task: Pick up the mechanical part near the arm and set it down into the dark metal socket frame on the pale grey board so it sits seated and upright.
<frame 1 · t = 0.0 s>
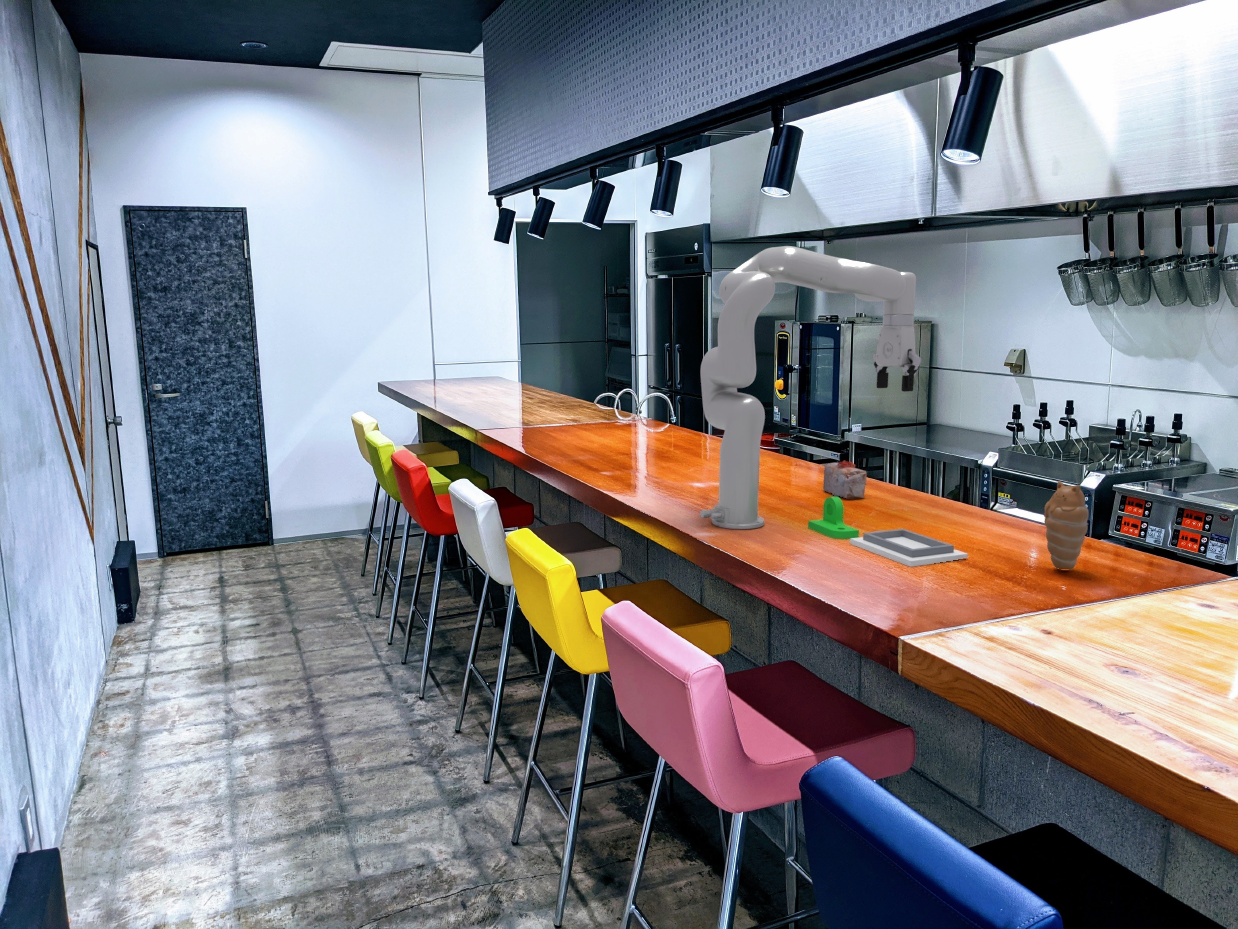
hand: (894, 389, 238), 31 cm above the table, tool pointing down, fingers open, 9 cm apart
food item: (843, 496, 261), on the table
cat ice cream: (1062, 572, 187), on the table
socket board: (906, 551, 201), on the table
mechanical part: (832, 534, 218), on the table
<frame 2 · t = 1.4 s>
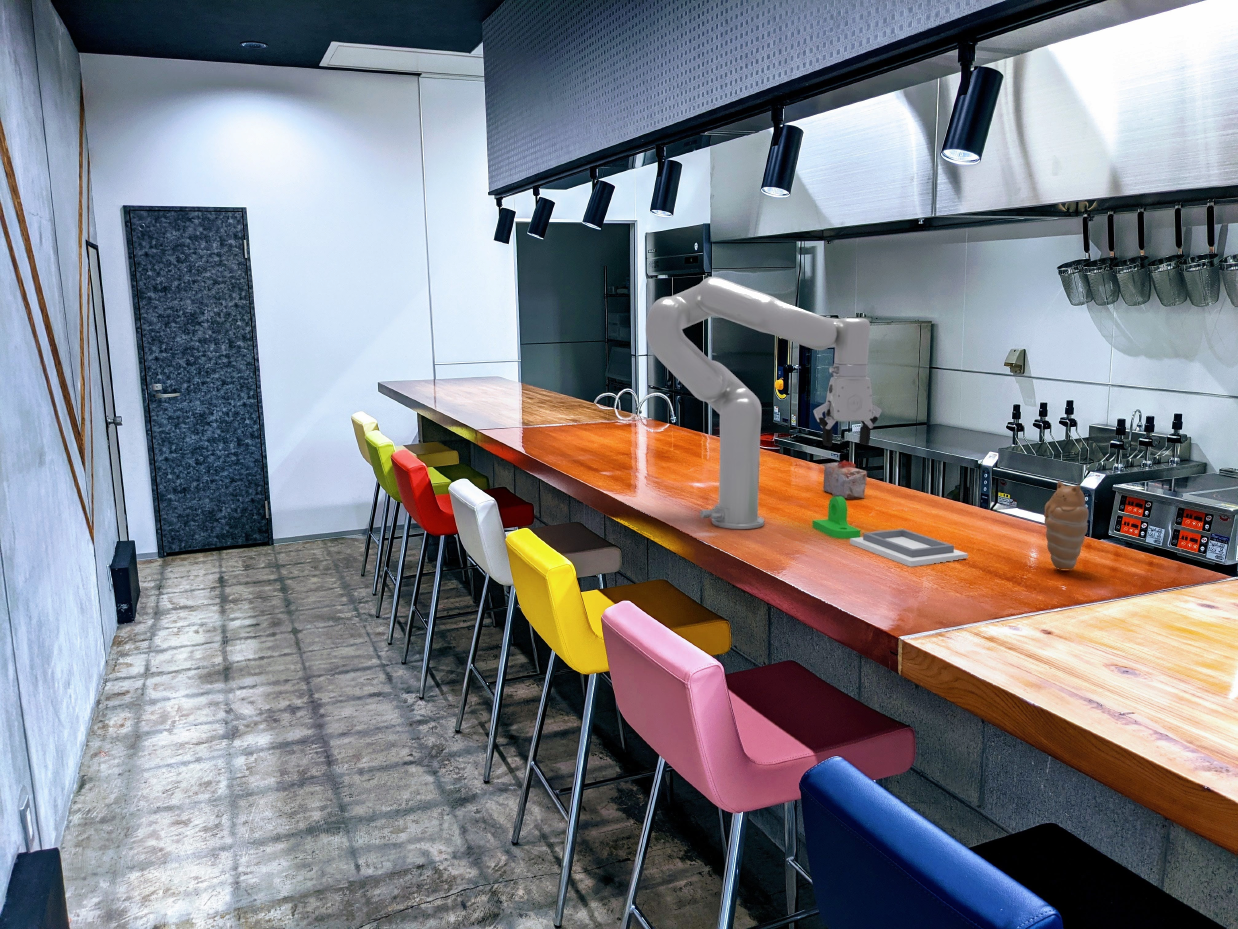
hand: (845, 444, 219), 20 cm above the table, tool pointing down, fingers open, 9 cm apart
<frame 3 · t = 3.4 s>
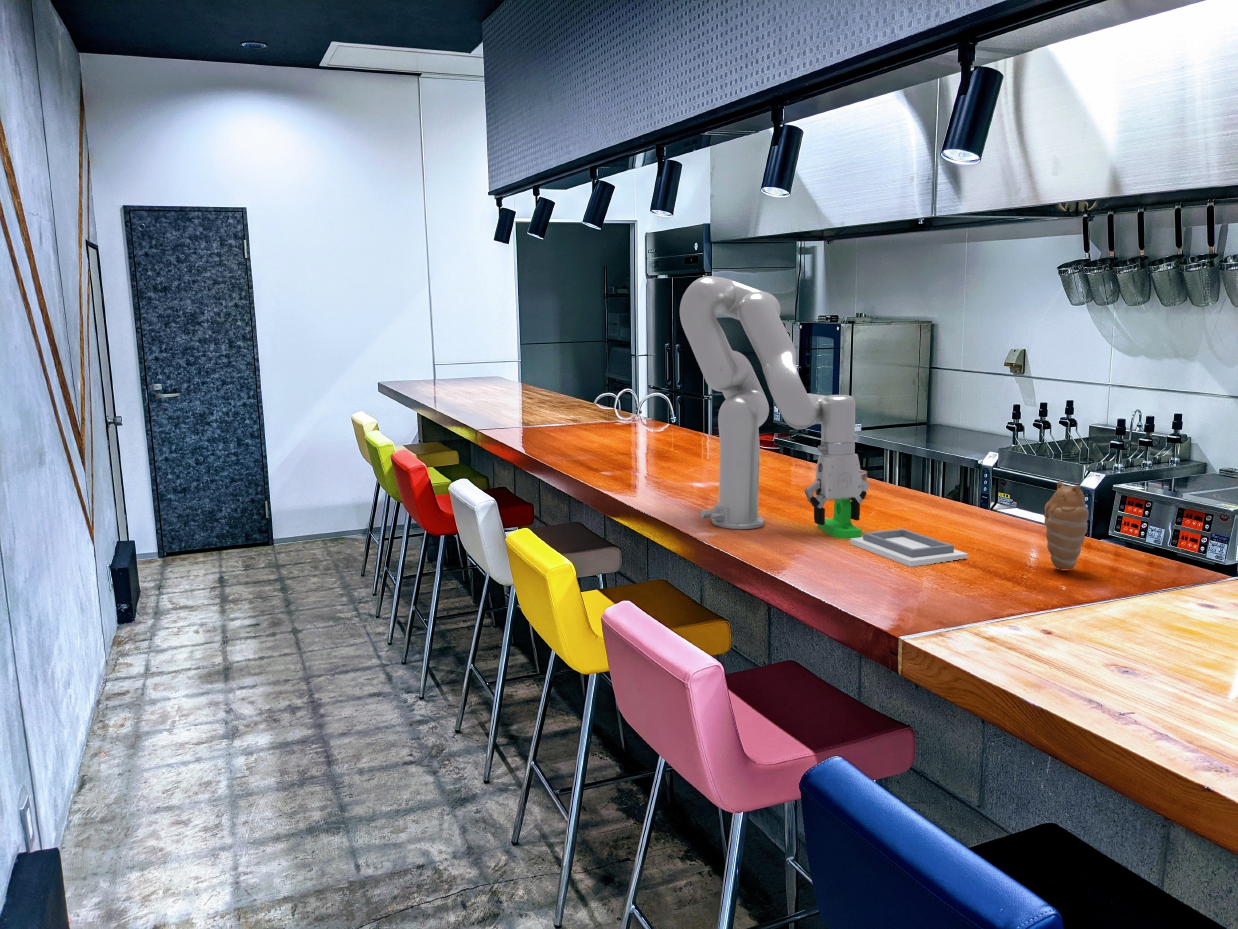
hand: (836, 521, 217), 3 cm above the table, tool pointing down, fingers open, 9 cm apart
mechanical part: (838, 533, 218), on the table, touching gripper
everything else where it was.
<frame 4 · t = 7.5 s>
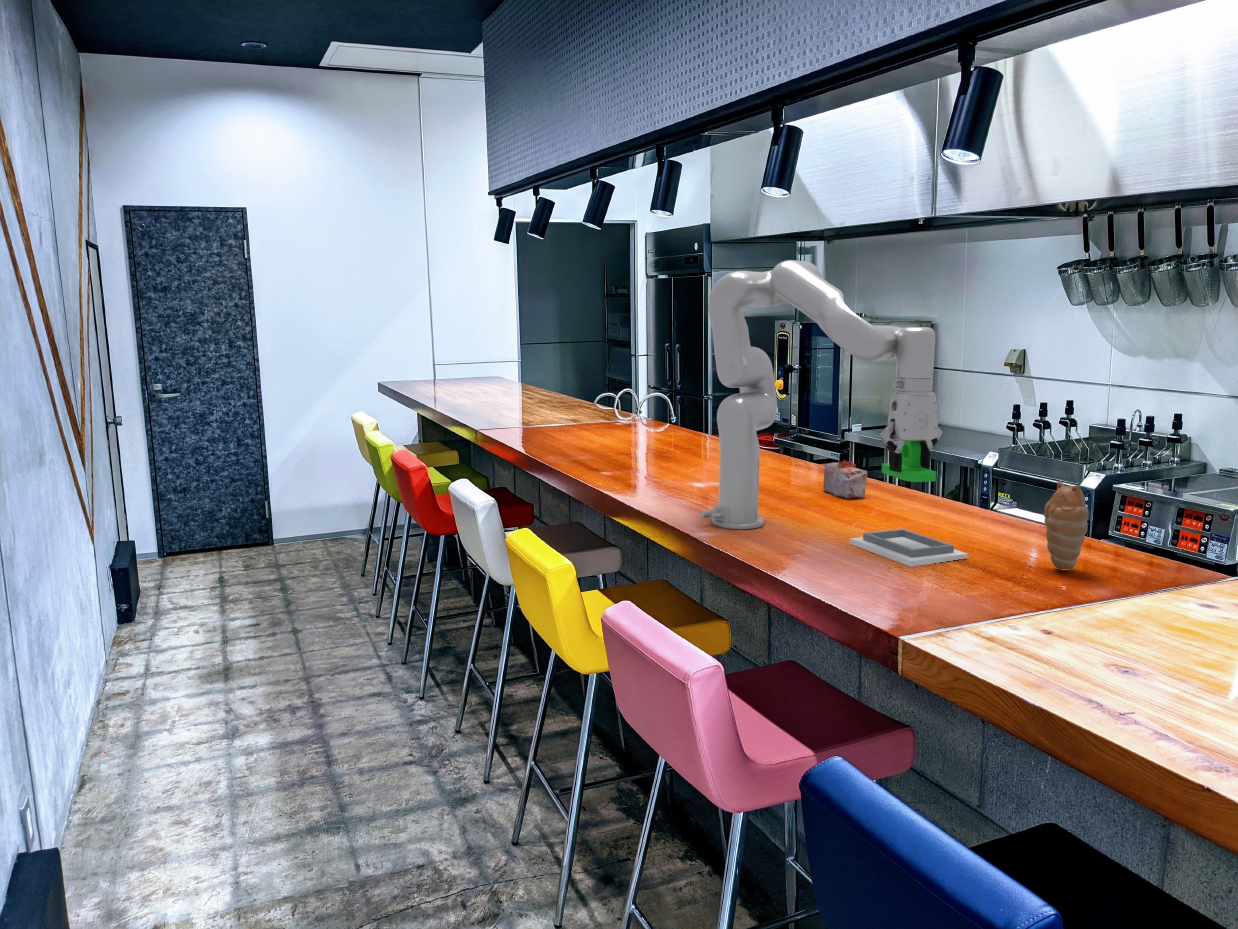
hand: (909, 469, 199), 18 cm above the table, tool pointing down, fingers closed on mechanical part, 6 cm apart
mechanical part: (907, 477, 200), point 16 cm above the table, touching gripper
everything else where it was.
when the fingers open (4 cm above the table, at t = 11.0 s): mechanical part drops 2 cm, resting on socket board.
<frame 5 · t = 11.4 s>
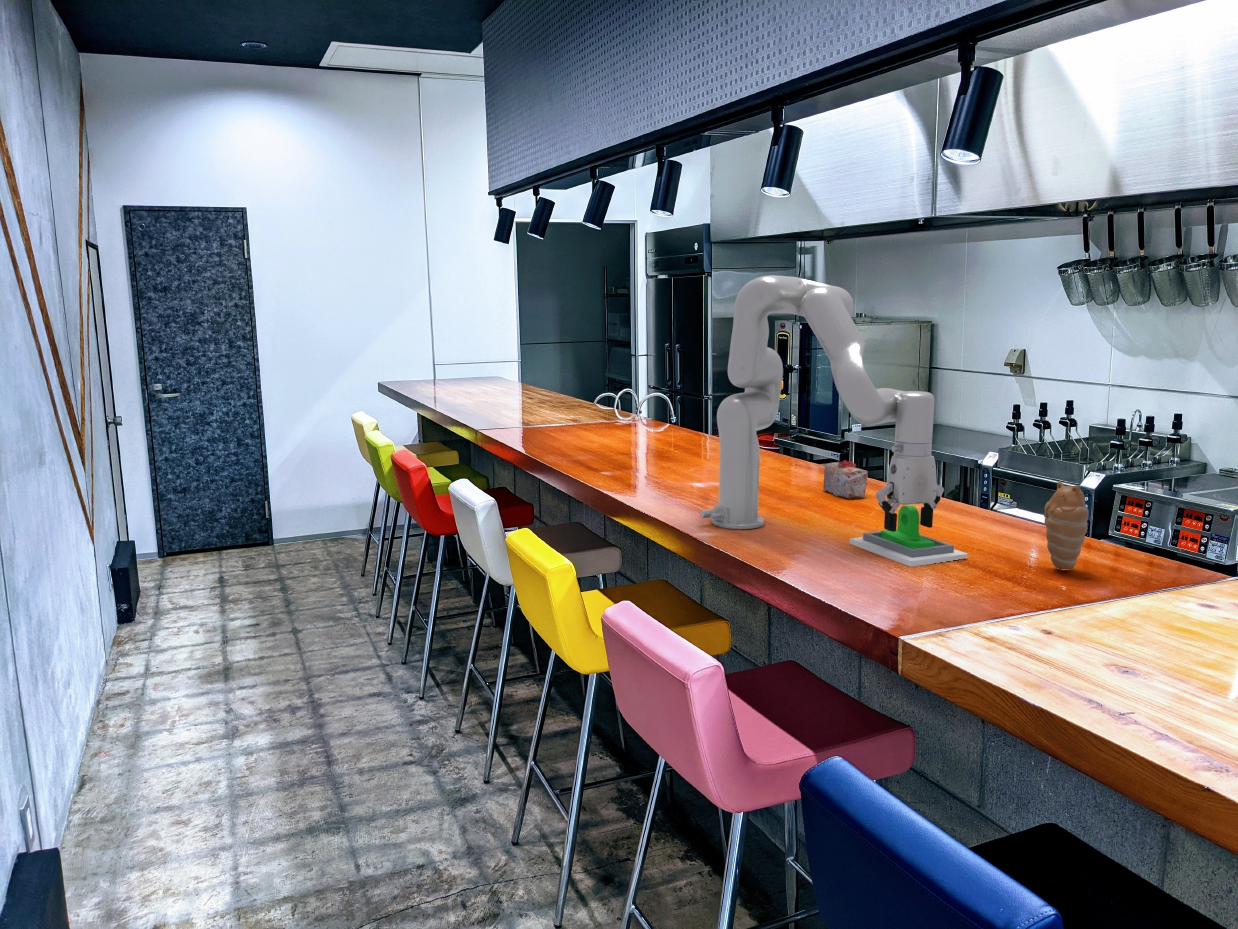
hand: (908, 528, 200), 5 cm above the table, tool pointing down, fingers open, 9 cm apart
mechanical part: (906, 546, 202), point 1 cm above the table, touching socket board
everything else where it was.
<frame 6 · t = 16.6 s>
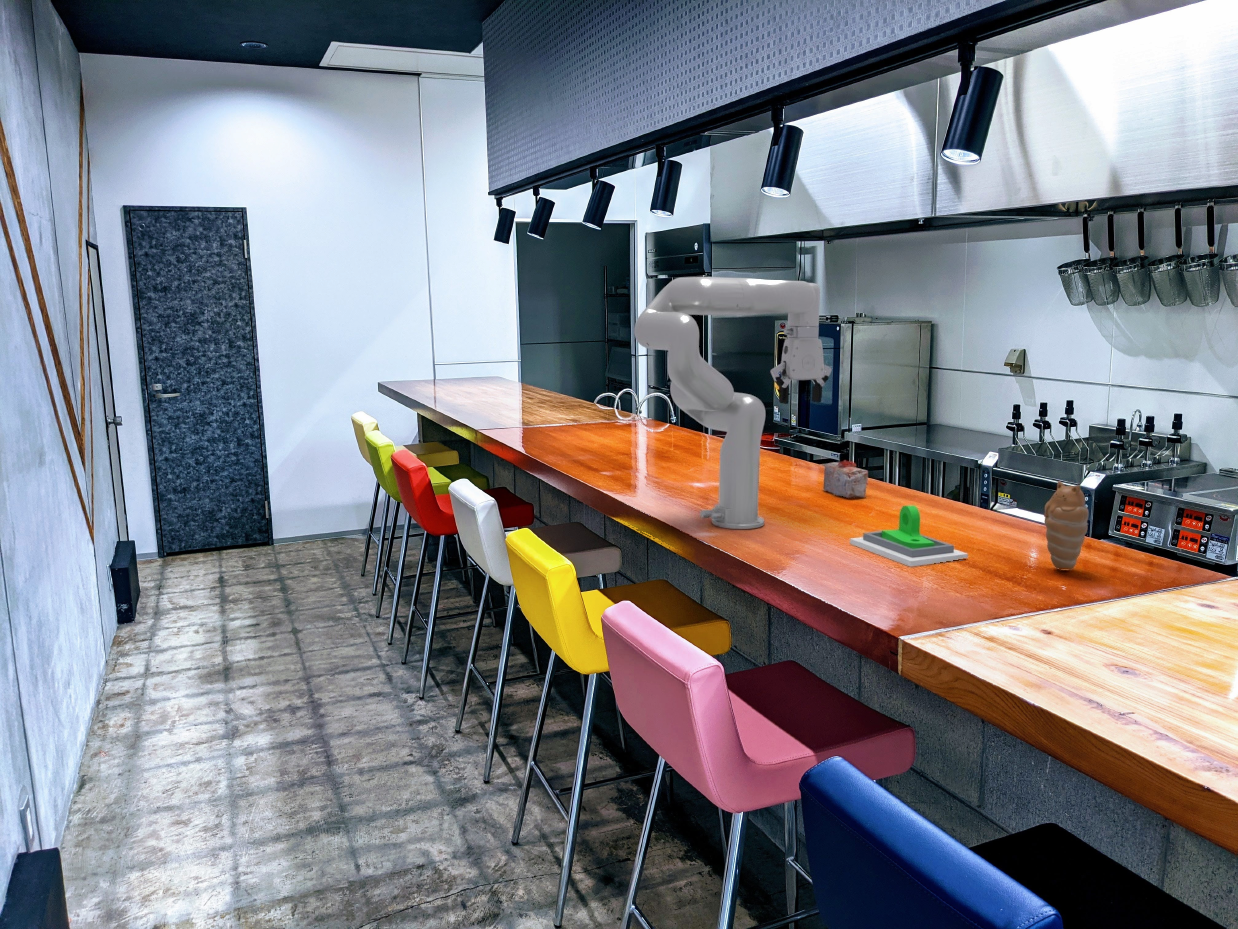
hand: (800, 402, 233), 28 cm above the table, tool pointing down, fingers open, 9 cm apart
nothing on the table moved.
at the end: mechanical part 0.5 cm off-centre on the socket board, point 1.0 cm above the socket board's base; mechanical part tilted 0°; the gripper is holding nothing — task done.
